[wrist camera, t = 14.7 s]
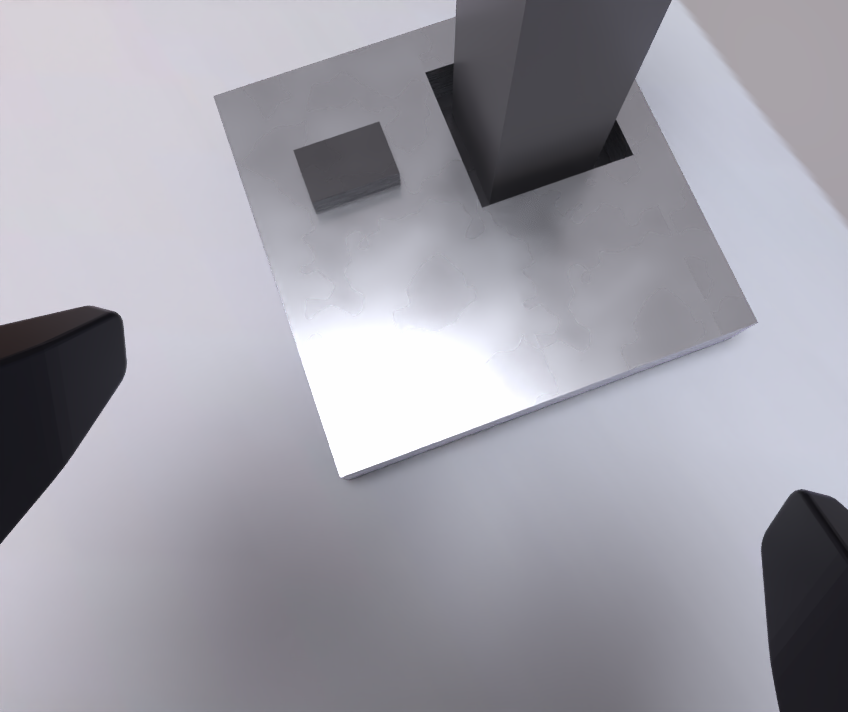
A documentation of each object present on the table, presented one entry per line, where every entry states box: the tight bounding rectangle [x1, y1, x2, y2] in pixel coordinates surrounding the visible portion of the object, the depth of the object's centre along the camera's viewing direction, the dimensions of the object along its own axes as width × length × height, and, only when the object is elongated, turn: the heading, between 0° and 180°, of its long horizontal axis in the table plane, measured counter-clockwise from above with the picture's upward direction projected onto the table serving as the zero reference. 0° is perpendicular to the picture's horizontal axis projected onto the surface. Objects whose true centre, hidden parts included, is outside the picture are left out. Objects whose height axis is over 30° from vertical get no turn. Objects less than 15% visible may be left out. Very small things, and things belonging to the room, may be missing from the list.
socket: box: [214, 17, 758, 480], centre depth 22 cm, size 14×14×3 cm
